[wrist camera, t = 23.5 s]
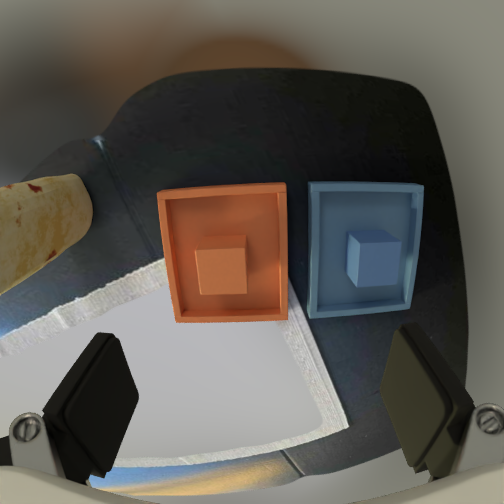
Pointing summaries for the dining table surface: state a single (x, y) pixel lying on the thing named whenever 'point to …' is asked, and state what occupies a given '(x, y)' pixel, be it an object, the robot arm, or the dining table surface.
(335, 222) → the blue tray
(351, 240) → the blue block
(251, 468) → the dining table surface
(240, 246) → the terracotta block
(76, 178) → the food model
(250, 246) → the terracotta tray
